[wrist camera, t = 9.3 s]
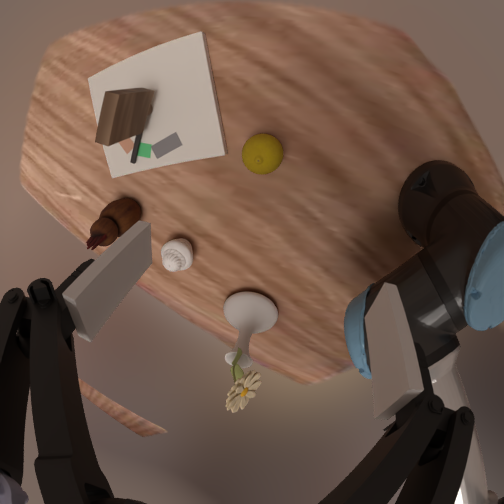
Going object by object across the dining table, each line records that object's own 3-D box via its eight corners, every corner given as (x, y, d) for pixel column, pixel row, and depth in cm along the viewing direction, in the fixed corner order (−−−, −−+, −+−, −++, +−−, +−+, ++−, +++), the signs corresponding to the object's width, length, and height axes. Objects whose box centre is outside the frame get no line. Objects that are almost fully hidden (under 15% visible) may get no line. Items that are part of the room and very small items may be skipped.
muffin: (166, 249, 52) (150, 271, 47) (173, 225, 49) (157, 245, 43) (193, 263, 53) (180, 286, 47) (203, 240, 50) (190, 262, 44)
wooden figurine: (146, 197, 47) (98, 239, 34) (146, 224, 50) (103, 270, 38) (117, 191, 47) (66, 229, 35) (118, 217, 50) (72, 259, 38)
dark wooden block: (159, 90, 34) (119, 94, 25) (139, 164, 41) (102, 186, 33) (146, 87, 34) (105, 91, 25) (128, 160, 41) (90, 181, 32)
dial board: (227, 152, 40) (224, 155, 39) (116, 175, 45) (111, 178, 44) (204, 33, 30) (201, 31, 28) (93, 77, 35) (87, 78, 33)
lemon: (240, 146, 39) (227, 159, 33) (267, 122, 36) (259, 129, 30) (265, 172, 41) (257, 190, 34) (292, 150, 38) (290, 163, 32)
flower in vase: (268, 331, 60) (249, 433, 40) (220, 315, 60) (185, 415, 39) (290, 291, 53) (275, 410, 32) (234, 272, 53) (193, 386, 32)
